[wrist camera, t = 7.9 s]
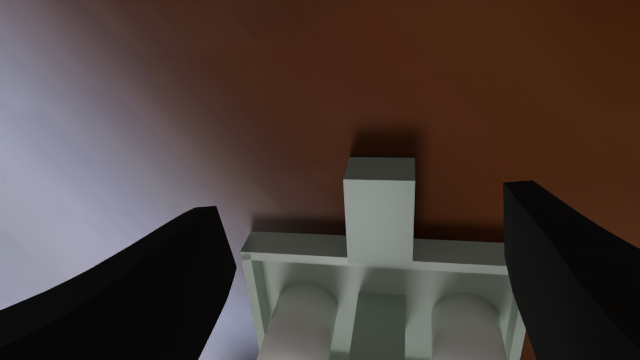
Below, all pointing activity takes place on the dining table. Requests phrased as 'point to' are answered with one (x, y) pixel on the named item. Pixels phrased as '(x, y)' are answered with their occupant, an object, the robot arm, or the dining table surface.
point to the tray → (380, 270)
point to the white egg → (300, 324)
